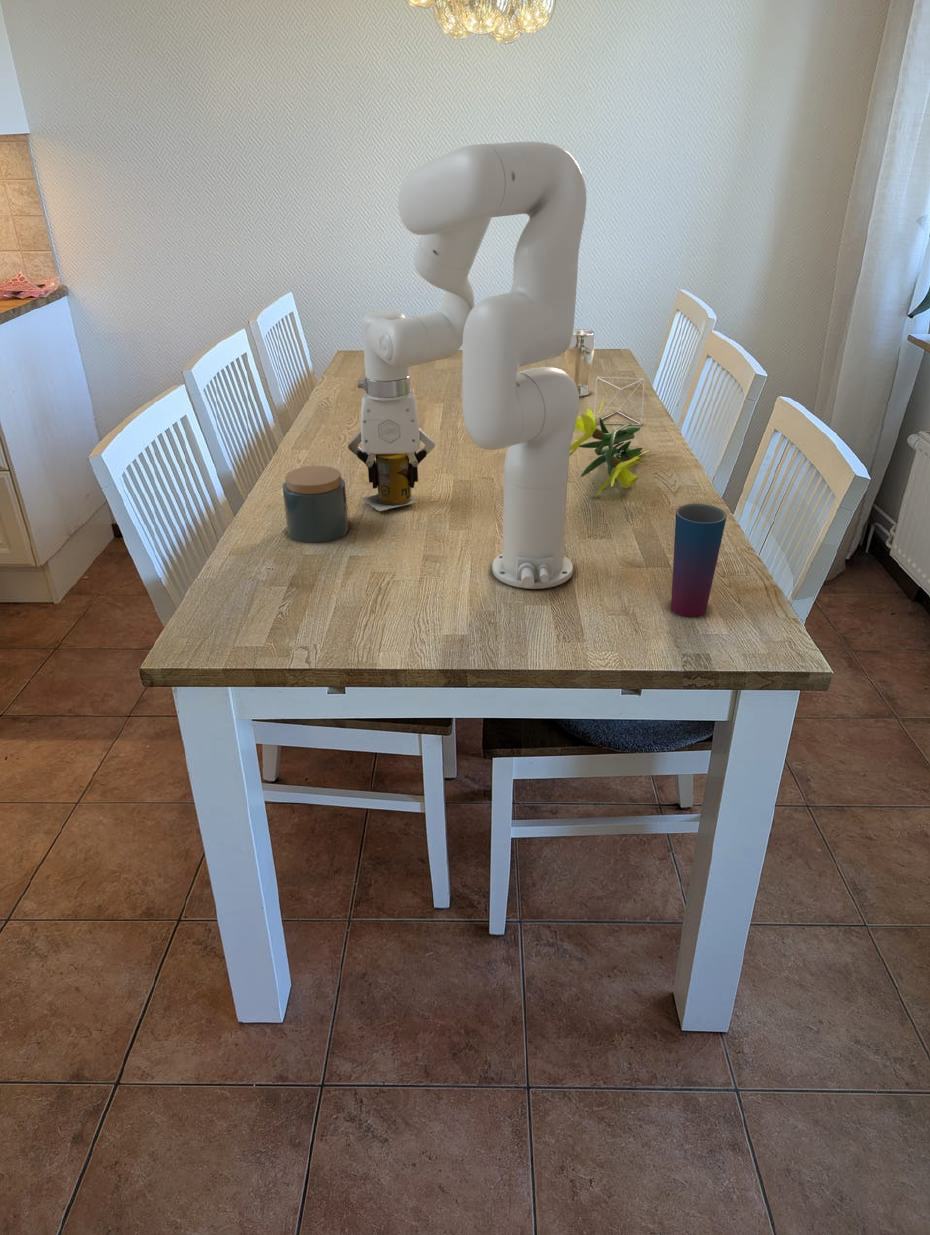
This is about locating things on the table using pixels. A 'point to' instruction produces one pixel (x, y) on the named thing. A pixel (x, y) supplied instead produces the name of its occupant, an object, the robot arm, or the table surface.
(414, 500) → the yellow coffee bottle
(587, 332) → the beer glass
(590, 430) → the daffodil flowers
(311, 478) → the blue jar
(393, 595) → the table surface
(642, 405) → the geometric polyhedron
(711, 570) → the cup
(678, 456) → the table surface
